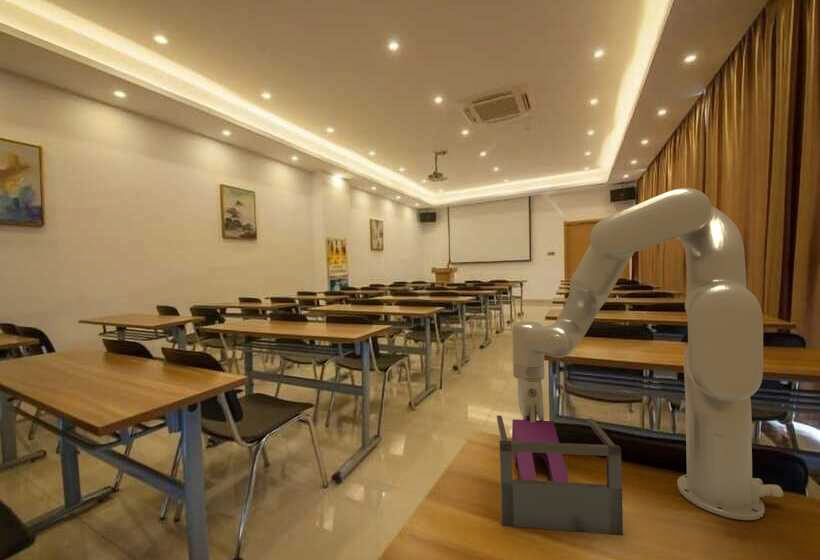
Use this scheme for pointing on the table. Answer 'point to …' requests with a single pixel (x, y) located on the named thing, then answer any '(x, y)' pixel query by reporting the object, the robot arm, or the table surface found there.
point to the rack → (562, 490)
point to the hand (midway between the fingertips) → (529, 442)
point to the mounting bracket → (537, 433)
